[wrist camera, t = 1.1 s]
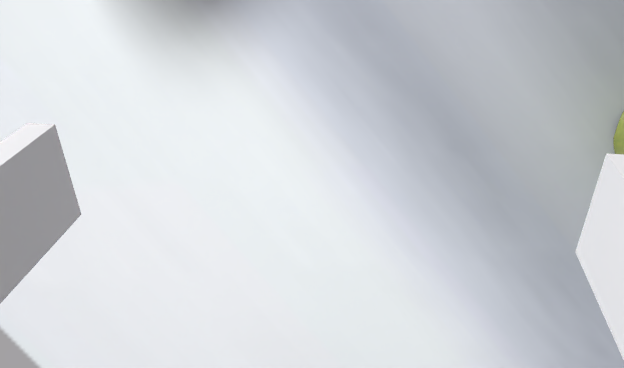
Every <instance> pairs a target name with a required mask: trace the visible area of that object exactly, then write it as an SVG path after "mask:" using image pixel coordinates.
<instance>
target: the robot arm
mask: <svg viewBox="0 0 624 368" xmlns="http://www.w3.org/2000/svg"><path fill="white" fill-rule="evenodd" d="M80 215H81V212H80V208H79V205H78V202H77V198H76V195H75V191H74V188H73V185H72V181H71V178H70V174H69V171H68V167H67V164H66V161H65V157H64V154H63V150H62V147H61V144H60V140H59V137H58V133H57V130H56V126H55V124H37V123H26V124H25V125H23V126H22V127H21V128H19V129H18V130H16V131H15V132H13V133H12V134H11V135H9V136H8V137H6V138H5V139H3V140H2V141H1V142H0V303H1V302H2V301H3V300H4V299H5V298H6V297H7V296H8V294H9V293H10V292H11V291H12V290H13V289H14V288H15V287H16V286H17V285H18V283H19V282H20V281H21V280H22V279H23V278H24V277H25V276H26V275H27V274H28V272H29V271H30V270H31V269H32V268H33V267H34V266H35V265H36V264H37V263H38V261H39V260H40V259H41V258H42V257H43V256H44V255H45V254H46V253H47V252H48V250H49V249H50V248H51V247H52V246H53V245H54V244H55V243H56V242H57V240H58V239H59V238H60V237H61V236H62V235H63V234H64V233H65V232H66V231H67V229H68V228H69V227H70V226H71V225H72V224H73V223H74V222H75V221H76V220H77V218H78V217H79V216H80ZM576 254H577V256H578V259H579V261H580V263H581V265H582V268H583V270H584V272H585V274H586V277H587V279H588V281H589V283H590V286H591V288H592V290H593V292H594V295H595V297H596V299H597V301H598V304H599V306H600V308H601V310H602V312H603V315H604V317H605V319H606V321H607V324H608V326H609V328H610V330H611V333H612V335H613V337H614V339H615V342H616V344H617V346H618V348H619V351H620V353H621V355H622V357H623V359H624V154H606V156H605V160H604V163H603V166H602V169H601V172H600V175H599V179H598V182H597V185H596V188H595V191H594V195H593V198H592V201H591V204H590V207H589V210H588V214H587V217H586V220H585V223H584V226H583V229H582V233H581V236H580V239H579V242H578V245H577V249H576Z"/></svg>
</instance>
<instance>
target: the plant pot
mask: <svg viewBox="0 0 624 368" xmlns="http://www.w3.org/2000/svg"><path fill="white" fill-rule="evenodd" d="M614 150H615V154H624V112H623V113H622V115H621V118H620V120H619V123H618V126H617V129H616V132H615V135H614Z"/></svg>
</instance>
